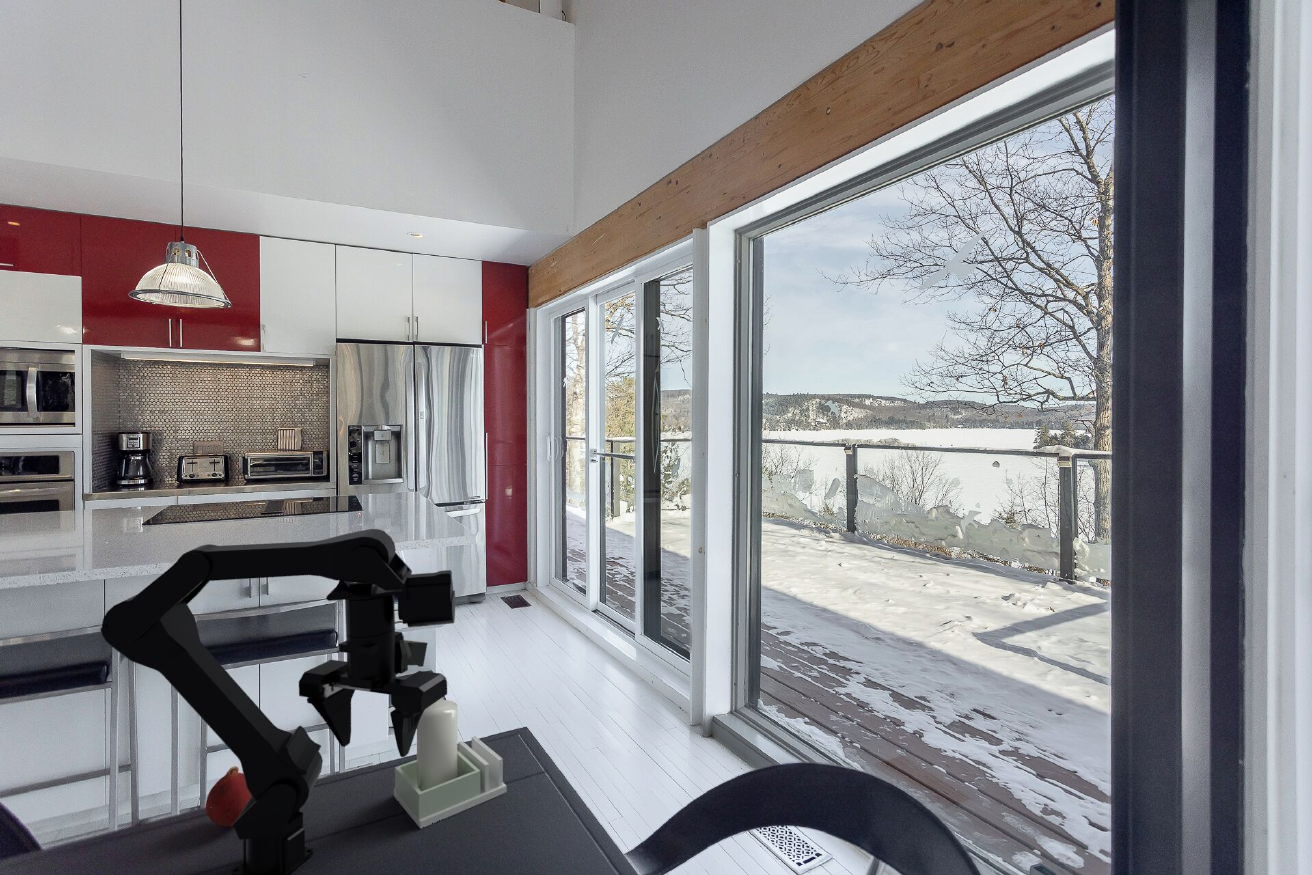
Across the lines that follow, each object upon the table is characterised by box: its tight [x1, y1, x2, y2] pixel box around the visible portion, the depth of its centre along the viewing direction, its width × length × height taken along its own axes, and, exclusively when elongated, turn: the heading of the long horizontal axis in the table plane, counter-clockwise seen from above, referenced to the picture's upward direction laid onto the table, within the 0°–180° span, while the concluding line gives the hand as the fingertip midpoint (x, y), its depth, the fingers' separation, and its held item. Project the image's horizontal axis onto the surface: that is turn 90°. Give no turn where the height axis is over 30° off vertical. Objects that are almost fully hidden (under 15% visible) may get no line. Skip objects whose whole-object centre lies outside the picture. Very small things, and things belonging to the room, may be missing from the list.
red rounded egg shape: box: [205, 765, 252, 827], centre depth 86 cm, size 6×6×8 cm
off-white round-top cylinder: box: [416, 699, 458, 792], centre depth 93 cm, size 6×6×12 cm
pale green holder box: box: [393, 735, 508, 829], centre depth 94 cm, size 13×10×5 cm
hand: (374, 750), depth 82 cm, fingers open, 9 cm apart
